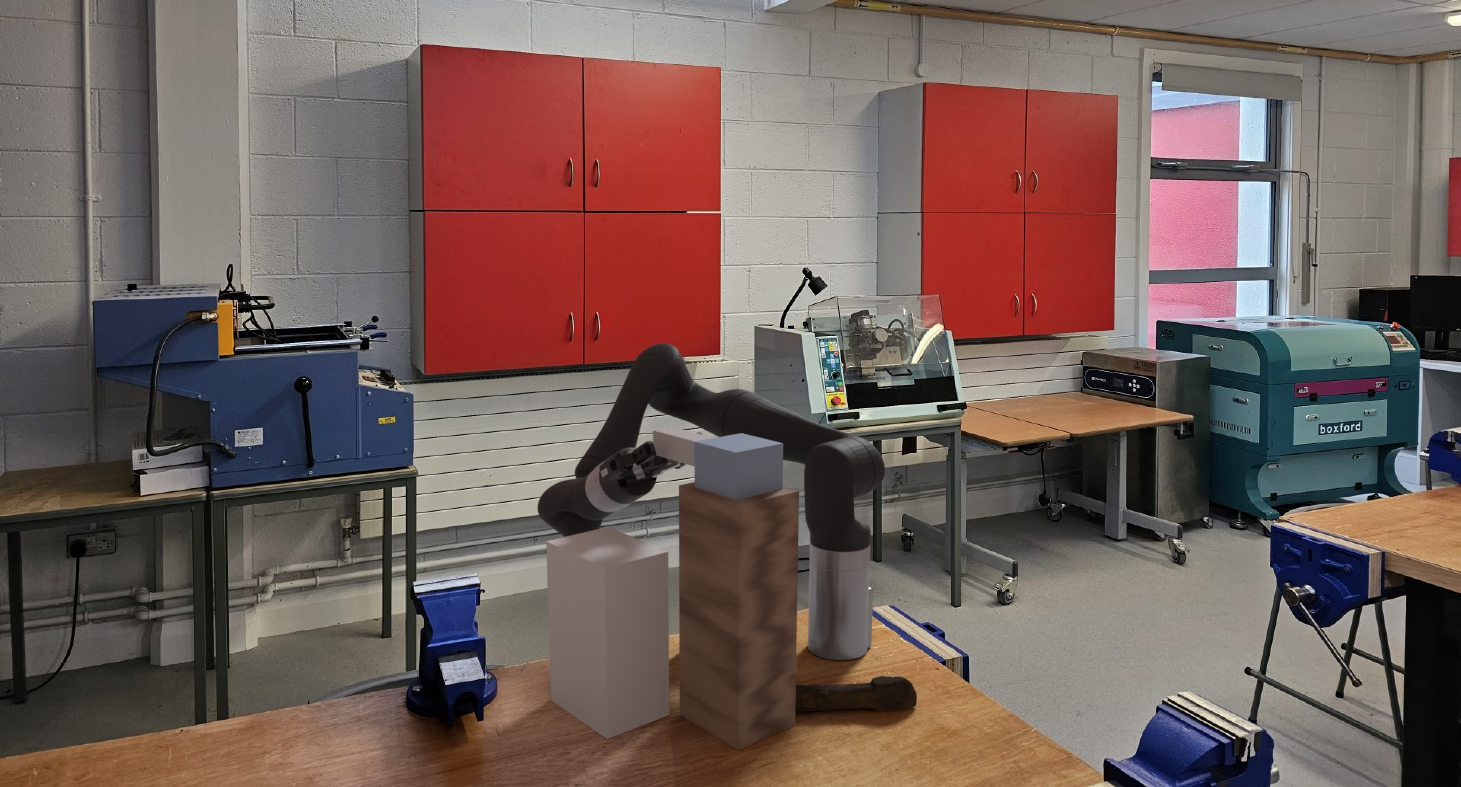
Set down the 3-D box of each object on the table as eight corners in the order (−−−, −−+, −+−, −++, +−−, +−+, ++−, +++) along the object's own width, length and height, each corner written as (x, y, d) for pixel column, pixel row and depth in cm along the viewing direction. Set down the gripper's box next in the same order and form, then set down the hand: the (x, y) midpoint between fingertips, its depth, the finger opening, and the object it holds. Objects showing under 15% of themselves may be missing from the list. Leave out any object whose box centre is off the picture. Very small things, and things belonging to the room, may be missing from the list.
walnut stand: (735, 693, 143) (736, 473, 138) (795, 725, 134) (799, 491, 129) (679, 715, 137) (678, 485, 131) (738, 750, 128) (740, 505, 122)
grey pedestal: (610, 679, 147) (608, 526, 143) (669, 714, 137) (668, 551, 133) (550, 700, 141) (546, 541, 137) (607, 739, 130) (604, 568, 126)
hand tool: (779, 719, 136) (780, 687, 135) (777, 705, 140) (778, 674, 139) (919, 719, 137) (921, 687, 136) (913, 705, 141) (915, 673, 140)
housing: (685, 460, 144) (685, 419, 143) (782, 489, 129) (783, 443, 128) (639, 469, 139) (639, 426, 138) (735, 500, 124) (735, 452, 123)
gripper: (571, 464, 147) (626, 424, 135) (651, 450, 156) (709, 411, 144) (586, 513, 145) (644, 477, 133) (666, 496, 154) (726, 460, 142)
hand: (677, 443), depth 139 cm, fingers open, 8 cm apart
